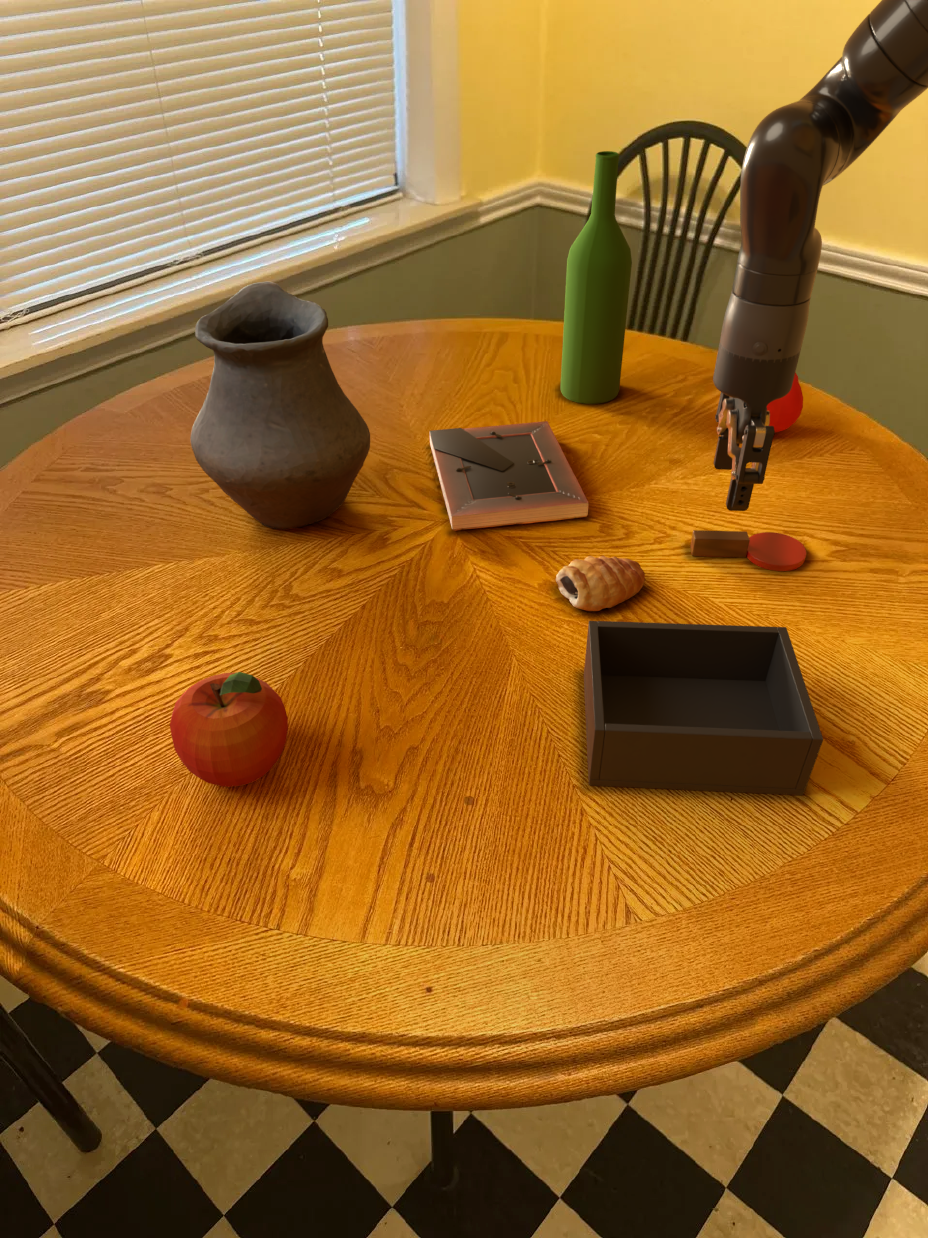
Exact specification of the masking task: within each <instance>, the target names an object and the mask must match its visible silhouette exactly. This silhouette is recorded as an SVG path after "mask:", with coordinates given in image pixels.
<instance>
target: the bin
mask: <svg viewBox="0 0 928 1238" xmlns="http://www.w3.org/2000/svg"><path fill="white" fill-rule="evenodd" d="M586 636H587V637H586V645H585V648H586V649H585V656H584V657H585V658H584V666H583V667H584V669H583V688H584V689H583V691H584V706H585V707H584V711H585V732H586V733H585V734H586V751H587V752H586V754H587V755H586V757H587V777H588V778H587V780H588V785H589V786H594V787H595V786H596V787H616V788H634V789H635V788H636V789H657V790H677V791H679V790H681V791H700V792H701V791H702V792H703V791H704V792H720V793H721V792H723V793H724V792H725V793H741V794H742V793H743V794H744V793H745V794H765V795H766V794H769V795H785V796H786V795H787V796H804V795H805V791H806V789H807V786H808V784H809V780H810V779H811V778H810V777H811V775H812V772H813V769H814V766H815V764H816V762H817V758H818V756H819V753H820V751H821V747H822V744H823V742H824V736H823V734H822V731H821V728H820V725H819V722H818V720H817V719H818V718H817V715H816V712H815V710H814V706H813V704H812V701H811V698H810V695H809V692H808V689H807V685H806V683H805V680H804V677H803V673H802V670H801V668H800V664H799V663H798V662H799V661H798V658H797V655H796V653H795V650H794V647H793V643H792V640H791V637H790V634H789V631H788V629H787V627H786V626H762V625H731V624H727V625H726V624H705V623H704V624H703V623H700V624H699V623H676V622H675V623H674V622H673V623H670V622H669V623H668V622H645V621H644V622H643V621H641V622H640V621H612V620H611V621H610V620H608V621H607V620H598V621H597V620H588V626H587V635H586Z"/></svg>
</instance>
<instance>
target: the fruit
mask: <svg viewBox="0 0 928 1238" xmlns="http://www.w3.org/2000/svg"><path fill="white" fill-rule="evenodd" d="M169 729H170V735H171V740H172V744H173V748H174V751H175V753H176V754H177V756H178V758H179V759H180V761H181V763H182V764H183V765H184V766H185V768H186V769H187V771H188V772H190V773H191V774H193V776H195V777H197V778H198V779H200V780H202V781H203V782H205V783H206V784H210V785H215V786H220V787H226V788H227V787H228V788H229V787H230V788H231V787H242V786H245V785H248V784H252V783H254V782H256V781H257V780H259V779H261V778H263V777H264V776H266V775H267V773H268V772H270V771H271V769H273V767H274V766H275V765H276V764H277V763H278V761H279V759H280V757H281V756H282V754H283V752H284V749H285V746H286V742H287V738H288V732H289V718H288V715H287V709H286V707H285V704H284V701H283V699H282V697H281V696H280V695H279V694H278V693H277V692H276V690H274V689H273V687H271V686H270V684H268V682H267V681H264V680H262V679H260V678H258V677H256V676H254V675H253V674H250V673H246V672H242V671H238V672H237V671H236V672H223V673H218V674H215V675H214V674H213V675H211V676H208V677H205V678H203V679H200V680H199V681H197V682H196V683H194V684H192V685H191V686H189V687H188V688H187V689H186V690H185V691H184V692H183V693H182V694H181V695H180V696H179V698H178V699H177V700H176V702H174V706H173V709H172V714H171V718H170V723H169Z"/></svg>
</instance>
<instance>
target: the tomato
mask: <svg viewBox="0 0 928 1238" xmlns="http://www.w3.org/2000/svg"><path fill="white" fill-rule="evenodd" d="M802 390H803V389H802V386H801V385H800V382H799V375H798V374H797V371H796V372H795V376H794V380H793V384H792V388H791V390H790V392H789V393H788V394H787V395H785V396H784V397H782V398H780V399H776V400H774V401H772V402H770V403H769V404H768V405H767V411H769V412H770V423H769V426H774V430H775V433H774V434H776V433H779V432H783V431H785V430H787V429H789V428H791V427H792V426H793V425H794V424H795V423H796V422H797V421H798V419H799V418H800V417H801V414H802V411H803V408H804V395H803V391H802Z"/></svg>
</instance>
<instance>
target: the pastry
mask: <svg viewBox="0 0 928 1238" xmlns="http://www.w3.org/2000/svg"><path fill="white" fill-rule="evenodd" d="M555 582H556V584H557V586H558V590H559V592H560V594H561V595H562V596H563V597H564V598H565V599H568V600H569V602H570V604H571V605H572V606H573V607H574V608H577V609H579V610H583V611H586V612H599V611H601V610H604V609H606V608H608V609H610V608H613V607H615V606H617V605H619V604H621V603H623V602H625V601H627V600H629V599H630V598H632V597H634V596H635V595H637V594H639V592H640V591H641V589H642V588H643V587H644V585H645V582H646V574H645V571H644V569H643V568H642V567H641V564H640V562H638V561H635V560H633V559H630V558H622V557H620V558H619V557H617V556H612V557H607V556H605V555H600V556H598V557H595V556H593V555H588V556H586V557H585V558H584V559H578V558H575V559H573V560H572V561H570V562H569V564H568V565H564V566H563V567H562V568H561V569H560V570H559V571H558V573H556V575H555Z"/></svg>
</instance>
